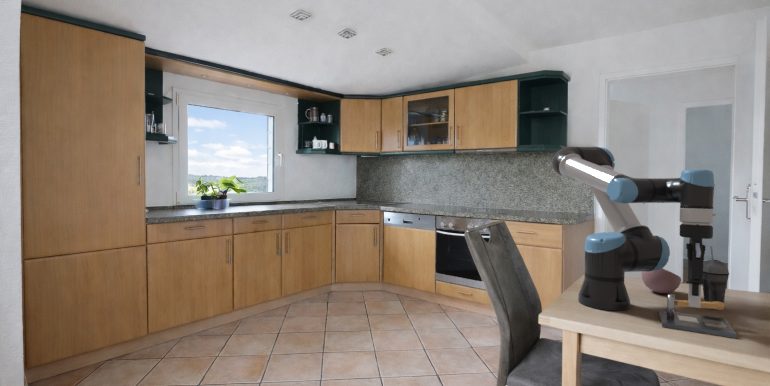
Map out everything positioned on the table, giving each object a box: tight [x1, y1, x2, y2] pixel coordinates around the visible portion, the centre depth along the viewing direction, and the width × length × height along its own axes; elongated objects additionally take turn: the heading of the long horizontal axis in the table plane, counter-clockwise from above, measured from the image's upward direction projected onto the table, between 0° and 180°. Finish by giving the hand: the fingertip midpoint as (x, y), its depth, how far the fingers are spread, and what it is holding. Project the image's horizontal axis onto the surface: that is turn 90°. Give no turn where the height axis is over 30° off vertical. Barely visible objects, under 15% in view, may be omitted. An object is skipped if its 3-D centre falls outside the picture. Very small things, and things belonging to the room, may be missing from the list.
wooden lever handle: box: [675, 299, 725, 311], centre depth 115 cm, size 12×2×2 cm, turn 78°
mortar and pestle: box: [641, 267, 682, 294], centre depth 146 cm, size 12×12×12 cm
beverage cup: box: [702, 245, 730, 311], centre depth 129 cm, size 7×7×20 cm
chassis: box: [657, 293, 738, 339], centre depth 114 cm, size 16×13×8 cm
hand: (694, 306), depth 114 cm, fingers closed
